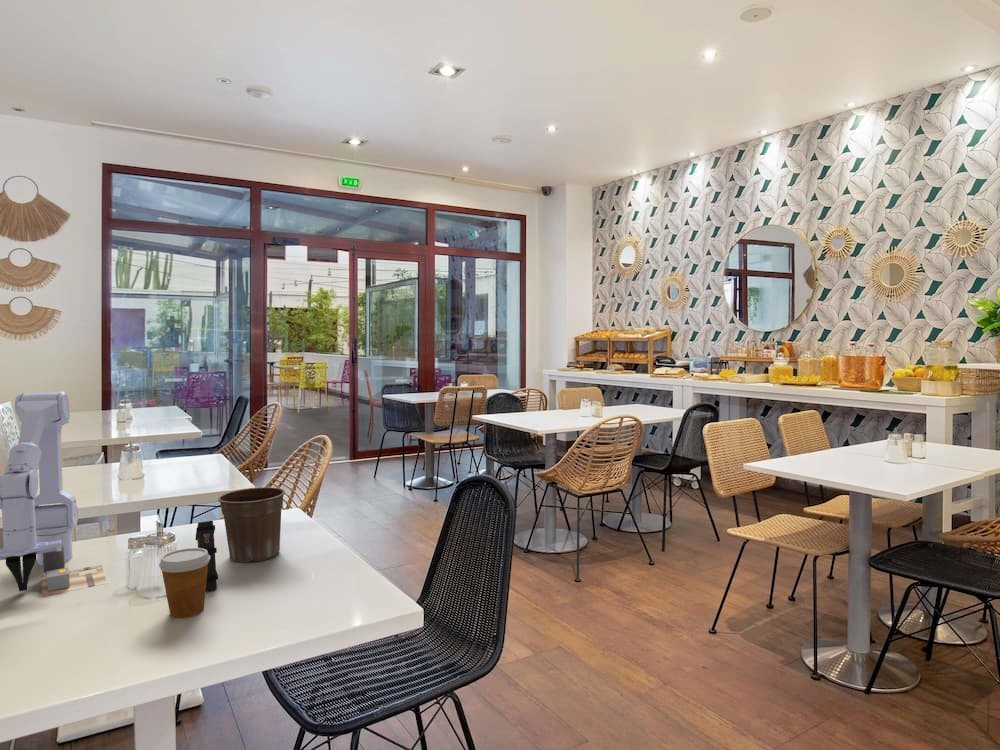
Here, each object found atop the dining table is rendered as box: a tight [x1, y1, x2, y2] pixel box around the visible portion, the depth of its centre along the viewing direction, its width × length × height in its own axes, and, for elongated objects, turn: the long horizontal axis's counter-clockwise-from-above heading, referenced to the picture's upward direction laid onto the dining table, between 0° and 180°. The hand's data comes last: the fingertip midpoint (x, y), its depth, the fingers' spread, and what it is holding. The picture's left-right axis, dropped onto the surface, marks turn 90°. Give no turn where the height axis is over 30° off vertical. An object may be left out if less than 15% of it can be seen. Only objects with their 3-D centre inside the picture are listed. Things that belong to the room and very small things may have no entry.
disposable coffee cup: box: [158, 547, 210, 619], centre depth 133 cm, size 10×10×12 cm
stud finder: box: [46, 567, 70, 591], centre depth 144 cm, size 5×4×3 cm
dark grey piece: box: [42, 546, 66, 574], centre depth 150 cm, size 4×4×7 cm
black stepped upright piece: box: [195, 520, 219, 593], centre depth 149 cm, size 4×13×15 cm, turn 28°
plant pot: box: [217, 486, 286, 563], centre depth 168 cm, size 16×16×16 cm
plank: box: [40, 564, 108, 597], centre depth 149 cm, size 15×12×2 cm
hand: (23, 589), depth 141 cm, fingers closed
